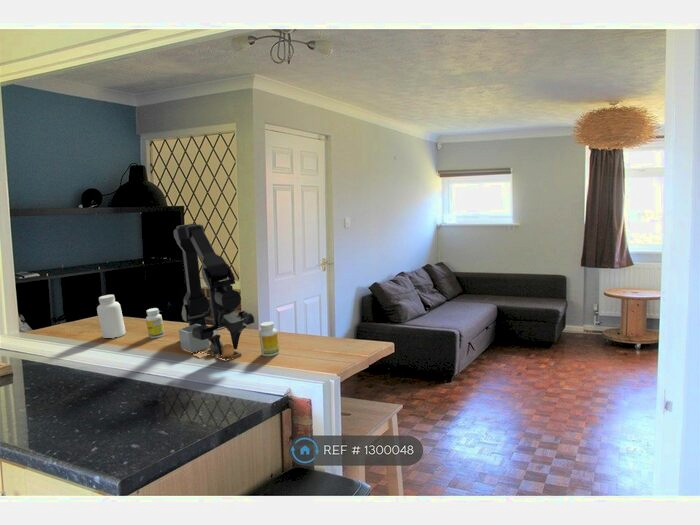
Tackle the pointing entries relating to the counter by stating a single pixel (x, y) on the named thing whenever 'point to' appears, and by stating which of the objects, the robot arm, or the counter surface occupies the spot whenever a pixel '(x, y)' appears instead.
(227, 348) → the orange ball
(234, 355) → the holder
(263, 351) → the supplement bottle
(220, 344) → the gray ball
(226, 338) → the counter surface
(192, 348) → the grey open box
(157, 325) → the supplement bottle
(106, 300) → the pill bottle
